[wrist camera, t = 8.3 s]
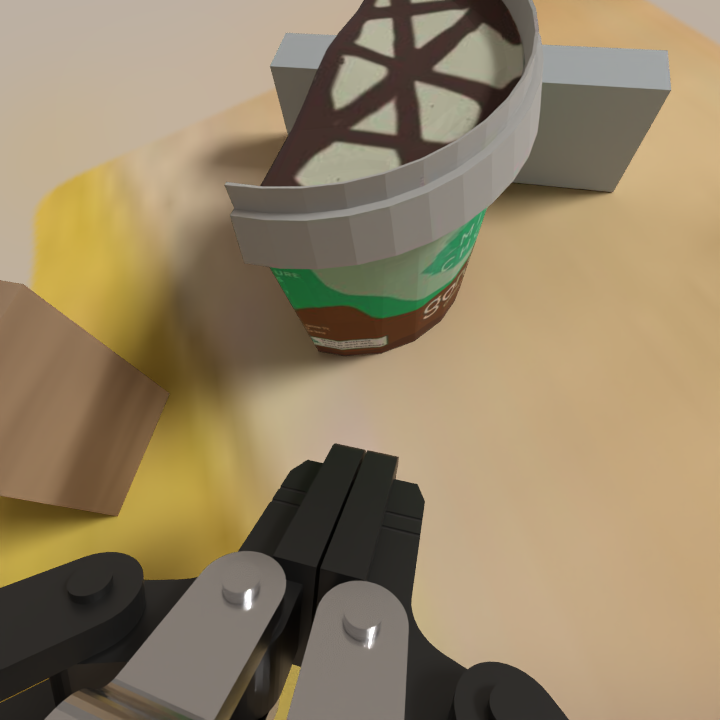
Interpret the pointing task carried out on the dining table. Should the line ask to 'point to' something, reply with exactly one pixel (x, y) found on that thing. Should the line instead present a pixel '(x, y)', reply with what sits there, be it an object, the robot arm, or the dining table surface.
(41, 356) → the walnut block
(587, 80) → the rail
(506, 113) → the food container
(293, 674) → the dining table surface
